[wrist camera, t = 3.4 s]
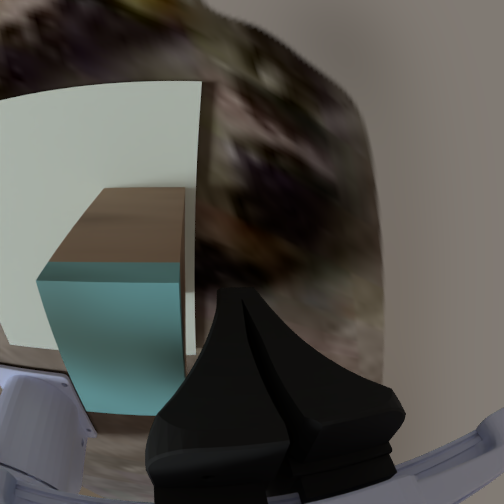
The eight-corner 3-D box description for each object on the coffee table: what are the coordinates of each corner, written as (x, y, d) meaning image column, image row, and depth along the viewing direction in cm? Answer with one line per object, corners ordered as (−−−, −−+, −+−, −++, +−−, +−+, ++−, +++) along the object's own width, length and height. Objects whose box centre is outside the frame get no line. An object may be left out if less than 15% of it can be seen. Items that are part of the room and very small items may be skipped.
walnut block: (185, 292, 18) (188, 415, 11) (115, 292, 17) (86, 411, 10) (185, 187, 15) (179, 282, 8) (103, 188, 14) (35, 280, 7)
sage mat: (195, 348, 20) (195, 354, 20) (12, 338, 18) (10, 344, 17) (201, 81, 13) (202, 81, 12) (-39, 111, 10) (-45, 113, 10)
